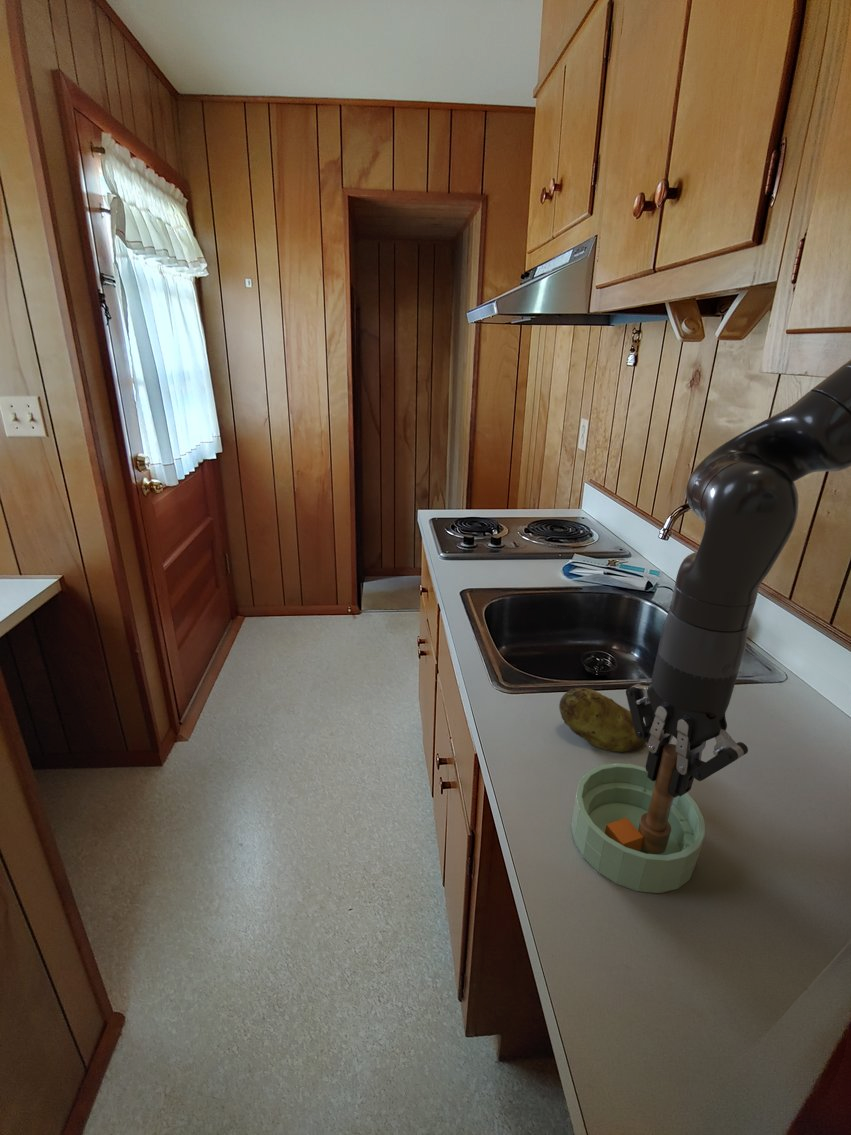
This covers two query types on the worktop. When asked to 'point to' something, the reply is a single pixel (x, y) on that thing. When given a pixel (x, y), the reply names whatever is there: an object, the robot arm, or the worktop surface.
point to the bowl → (628, 796)
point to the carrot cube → (624, 834)
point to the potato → (599, 720)
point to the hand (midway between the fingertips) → (665, 784)
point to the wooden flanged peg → (659, 806)
